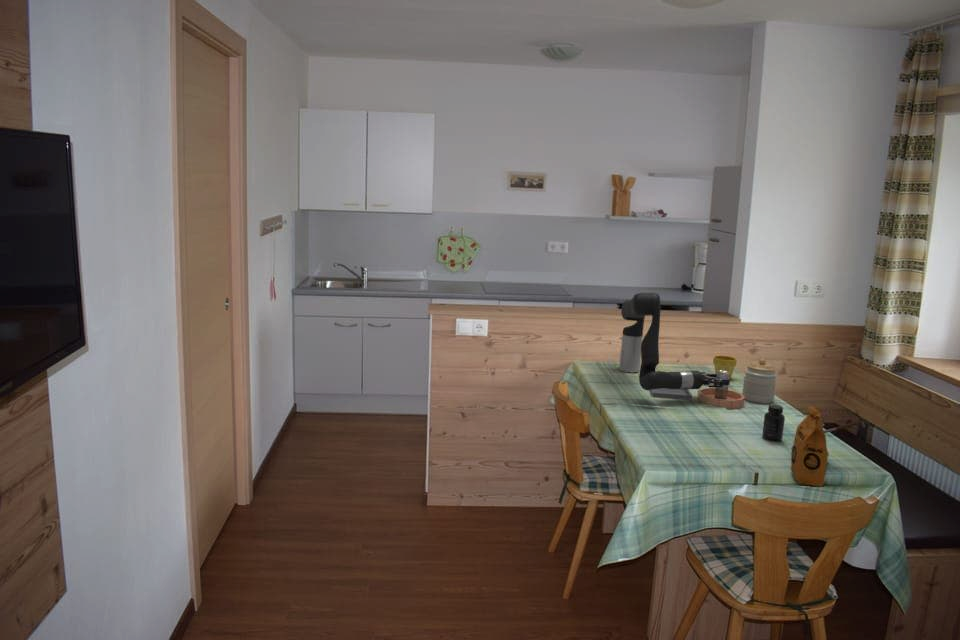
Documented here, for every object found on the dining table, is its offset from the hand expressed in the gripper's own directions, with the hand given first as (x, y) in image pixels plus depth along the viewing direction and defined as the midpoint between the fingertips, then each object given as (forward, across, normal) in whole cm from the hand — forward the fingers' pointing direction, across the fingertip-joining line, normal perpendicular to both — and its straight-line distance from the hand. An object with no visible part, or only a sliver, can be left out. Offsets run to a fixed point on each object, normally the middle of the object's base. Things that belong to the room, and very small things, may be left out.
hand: (723, 379), depth 312 cm
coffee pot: (-2, -65, +10) cm, 66 cm away
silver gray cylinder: (0, 0, +9) cm, 9 cm away
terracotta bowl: (0, 0, +10) cm, 10 cm away
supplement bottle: (-6, -43, +10) cm, 44 cm away
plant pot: (+23, +35, +10) cm, 43 cm away
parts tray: (-17, +12, +10) cm, 23 cm away
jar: (+19, +2, +10) cm, 22 cm away
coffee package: (-18, -78, +10) cm, 80 cm away
